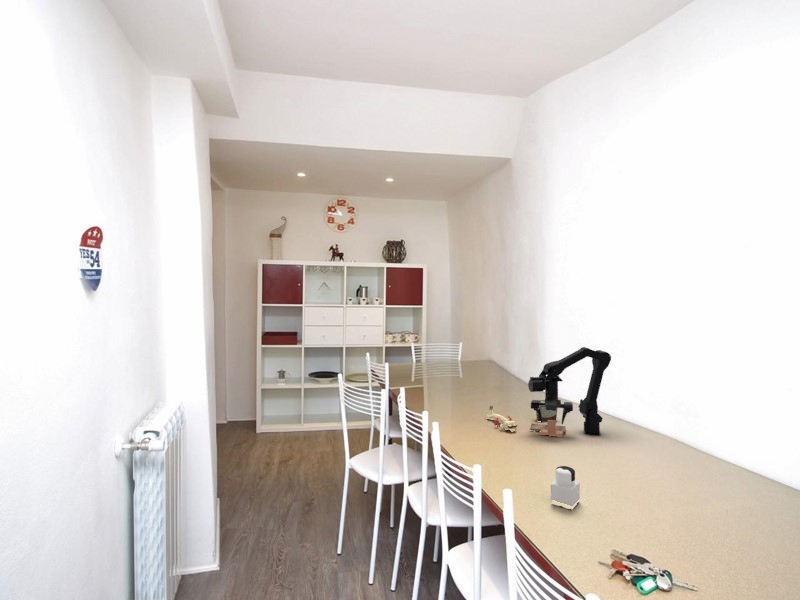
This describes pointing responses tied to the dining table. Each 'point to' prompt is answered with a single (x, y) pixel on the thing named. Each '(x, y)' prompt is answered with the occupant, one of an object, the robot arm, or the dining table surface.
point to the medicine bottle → (565, 486)
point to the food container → (546, 414)
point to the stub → (552, 429)
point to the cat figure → (502, 420)
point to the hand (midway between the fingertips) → (551, 423)
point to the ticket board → (546, 427)
